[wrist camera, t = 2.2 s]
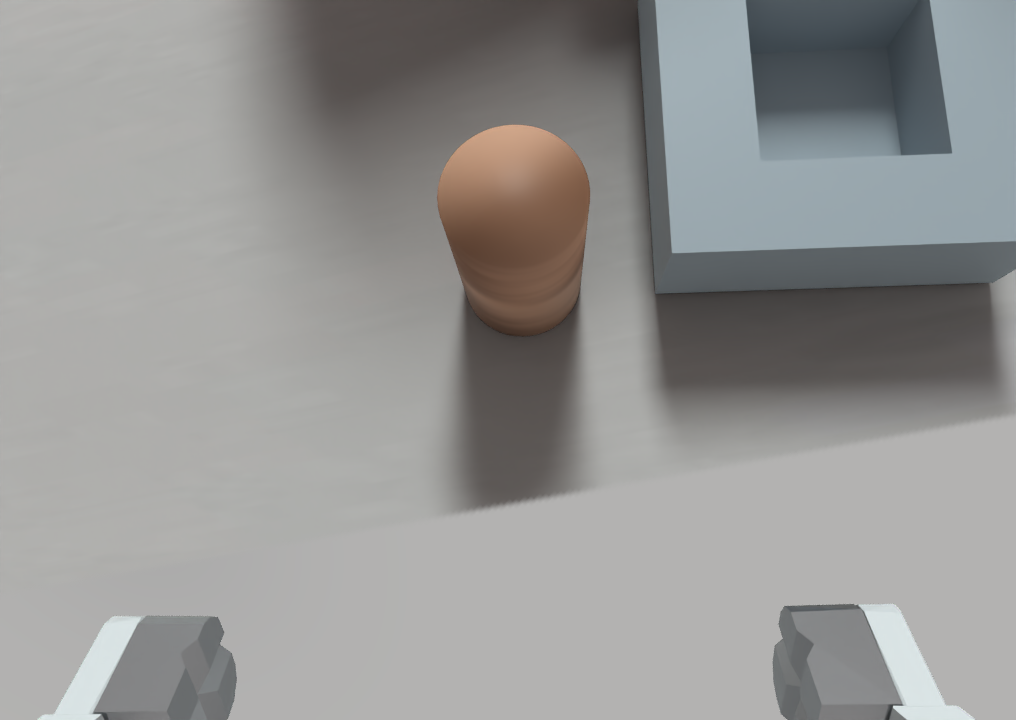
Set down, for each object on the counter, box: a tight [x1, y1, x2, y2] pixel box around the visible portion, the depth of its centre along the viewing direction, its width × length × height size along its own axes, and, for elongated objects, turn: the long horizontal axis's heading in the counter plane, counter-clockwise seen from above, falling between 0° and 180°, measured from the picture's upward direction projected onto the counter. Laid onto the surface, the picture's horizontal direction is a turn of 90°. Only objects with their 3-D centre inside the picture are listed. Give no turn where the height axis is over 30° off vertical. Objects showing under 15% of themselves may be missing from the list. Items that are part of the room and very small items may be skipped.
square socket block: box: [638, 0, 1016, 294], centre depth 34 cm, size 14×14×5 cm
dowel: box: [437, 125, 590, 336], centre depth 31 cm, size 5×5×9 cm
